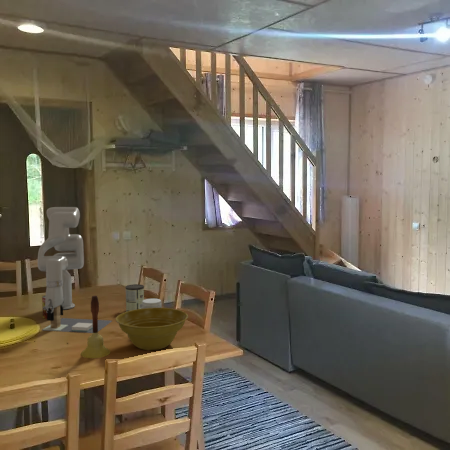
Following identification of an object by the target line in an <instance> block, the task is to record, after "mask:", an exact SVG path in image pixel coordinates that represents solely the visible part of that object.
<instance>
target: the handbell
mask: <svg viewBox="0 0 450 450" xmlns="http://www.w3.org/2000/svg"><path fill="white" fill-rule="evenodd" d="M99 312H100V302H99V298H98V295H92V296H91V300H90V313H91V315H92V318H91V319H92V320H93V333H91V335H90V336H88V338H87V346H86V348H85V349H84V350H82V351H81V353H80V355H81V357H82V358H87V359H98V358H99V359H100V358H105V357H107V356H109V355H110V354H111V350H110V349H109V348H107V347H106V346H105V344H104V337H103V336H102V335H101V334H99V331H98V320H99V319H98V318H99V316H98V315H99Z"/></svg>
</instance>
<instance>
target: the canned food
mask: <svg viewBox="0 0 450 450" xmlns="http://www.w3.org/2000/svg"><path fill="white" fill-rule="evenodd" d="M45 298H46V294H45V295H42V297H41V301H42V303H41V304H42V306H41V307H42V319H45V320H47V312H46V307H45Z"/></svg>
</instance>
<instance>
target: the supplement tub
mask: <svg viewBox="0 0 450 450" xmlns="http://www.w3.org/2000/svg"><path fill="white" fill-rule="evenodd" d="M143 308H163V307H162V300H161V299H159V298H144V300H143V301H142V309H143Z"/></svg>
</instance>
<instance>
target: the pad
mask: <svg viewBox="0 0 450 450" xmlns="http://www.w3.org/2000/svg"><path fill="white" fill-rule="evenodd" d="M67 326H68V325H61V326H60V327H59V328H51V324H49V325H48V326H46V327H44V328H42V331H43V330H51V331H50V332H61V330H62V329H64V328H66V327H67Z"/></svg>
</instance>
